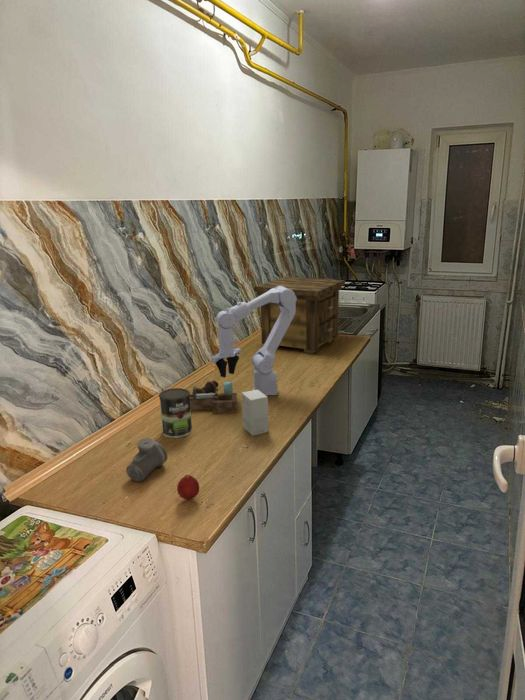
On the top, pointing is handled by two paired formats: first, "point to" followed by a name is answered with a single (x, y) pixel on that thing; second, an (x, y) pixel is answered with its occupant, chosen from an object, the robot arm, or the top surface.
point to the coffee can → (175, 412)
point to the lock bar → (201, 396)
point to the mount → (216, 403)
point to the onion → (188, 487)
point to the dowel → (228, 387)
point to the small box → (255, 412)
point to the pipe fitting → (146, 459)
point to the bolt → (207, 388)
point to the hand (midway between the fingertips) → (227, 375)
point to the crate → (304, 312)
